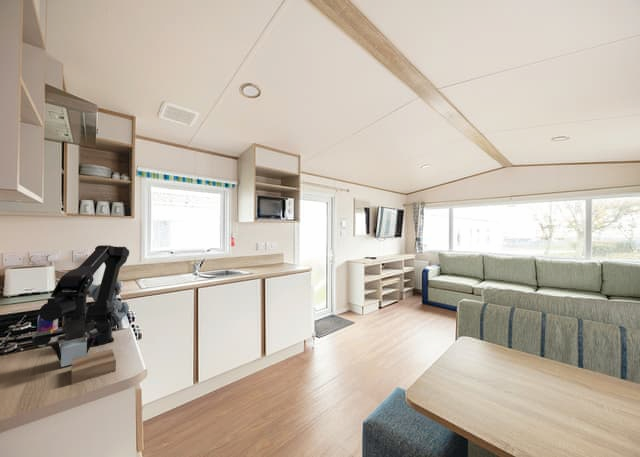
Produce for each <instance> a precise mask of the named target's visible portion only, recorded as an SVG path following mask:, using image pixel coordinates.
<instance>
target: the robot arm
mask: <svg viewBox="0 0 640 457" xmlns="http://www.w3.org/2000/svg"><path fill="white" fill-rule="evenodd" d="M129 256H130V250H129V248H127V247H126V246H113V245H110V244H109V245H108V244H107V245H103V244H102V245H101V244H100V245H97V246H95V248H94V250H93V251H92V252H91V254H89V256H88V257H87V258H85V260H84V261H83V262H82V263H81V264H80V265H79V266H78V267H76V268H74V269H71V270H69V271H68V272H66V273H65V274H63V275H62V276H61V277H60V278H59V280H58V282H57V283H56V285H55V288H54V290H53V291H52V293H51V295H50V297H49V298H48V299H47V302H46V303H44V304H43V305H42V306H41V307H40V308H39V310H38V316H40V317H41V318H42V319H43V320H45V321H54V320H56V319H58V320H59V319H60V318H62V324H61V325H62V328H61V329H62V330H58V332H53V333H51V330H47V331H41V332H34V333H33V334H32V339H31V347H38V346H39V345H44V344H45V346H46V347H49V346H50V347H51V349H52V350H53V351H54V353H55V355H56V357H57V359H58V361H60V360H61V345H60V341H59V338H63V337H64V340H65V341H71V340H75V339H80V338H84V337H85V338H86V342H87V354H88V353H89V350H90V347H91V346H92V347H96V346H100V345H104V344H107V343H113V342H115V338H114V337H113V328H114V327H117V326H118V324H119V321H120V320H119V318H118V316H117V315H116V314H115V313H114V312H115V307H114V305H113V303H112V298H113V294H114V290H115V286H116V282H117V281H118V277H119V272H120V269H121V267H122V266H123V265H124V264H126V262H127V260H128V258H129ZM103 264H104V272H103V275H102V279H101V282H100V284H101V285H100V284H99V285H100V289H99V293H98V296H97V300H96V302H95V301H94V302H93V303H92V304H93V305H92V304H89V305H88V306H87V298H88V297H87V295H88V294H90V292H89V291H87V290H88V288H89V287H90V286H91V284H93V282H94V281H95V279H94V275H95V273H96V272H97V271H98V270H99V269H100V268H101V266H102V265H103ZM86 307H88V309H87V313H86ZM86 335H87V336H86ZM60 362H61V361H60Z"/></svg>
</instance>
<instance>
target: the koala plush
mask: <svg viewBox="0 0 640 457" xmlns="http://www.w3.org/2000/svg"><path fill="white" fill-rule="evenodd" d="M100 285H101V283H100V284H98V285H96V284H94V283H92V284H91V286H90V287H89V288H88V290H87V291H89V292H90V294H88V295H87V298H89V299H90V298H91V299H92V300H93V301H94V303H95V302H96V300H97V296H98V293H99V289H100ZM122 292H124V282H123V281H122V280H121V279H120V280H117V282H116V286H115V290H114V294H113V298H112V303H113V305H114V307H115V312H114V313H115V314H116V315H117V316H118V318H119V321H121V320H123V319H124V317H125V316H127V314H128V313H129V311H130V310H129V309H130V307H129V303H128V302H127V301H122V302H121V301H120V300H118V299H117V296H119V295H120V294H121V293H122ZM94 303H92V304H91V305H93V304H94ZM87 309H88V306H86V313H87Z"/></svg>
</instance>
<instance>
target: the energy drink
mask: <svg viewBox="0 0 640 457" xmlns="http://www.w3.org/2000/svg"><path fill="white" fill-rule="evenodd" d="M58 328H59V319H56V320H54V321H45V320H43V319H42V318H41V317H40V316H39V315H38V317H37V328H36V329H37V332H41V331H47V330H51V333H53V332H58V331H59V329H58ZM37 347H39V348H45V347H47V346H45V344H44V345H39V346H37Z"/></svg>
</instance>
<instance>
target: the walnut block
mask: <svg viewBox="0 0 640 457" xmlns="http://www.w3.org/2000/svg"><path fill="white" fill-rule="evenodd" d="M111 372H112V373H115V372H117V358H116V356H115V353H114V350H113V349H107V350H103V351H99V352H96V353H95V352H94V353H92V354H91V353H90V354H88V355H87V356H83V357H79V358H75V359H72V364H71V372H70V373H71V385H75V384H79V383H82V382H85V381H89V380H92V379H95V378H99V377H101V376H105V375H108V374H111Z"/></svg>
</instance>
